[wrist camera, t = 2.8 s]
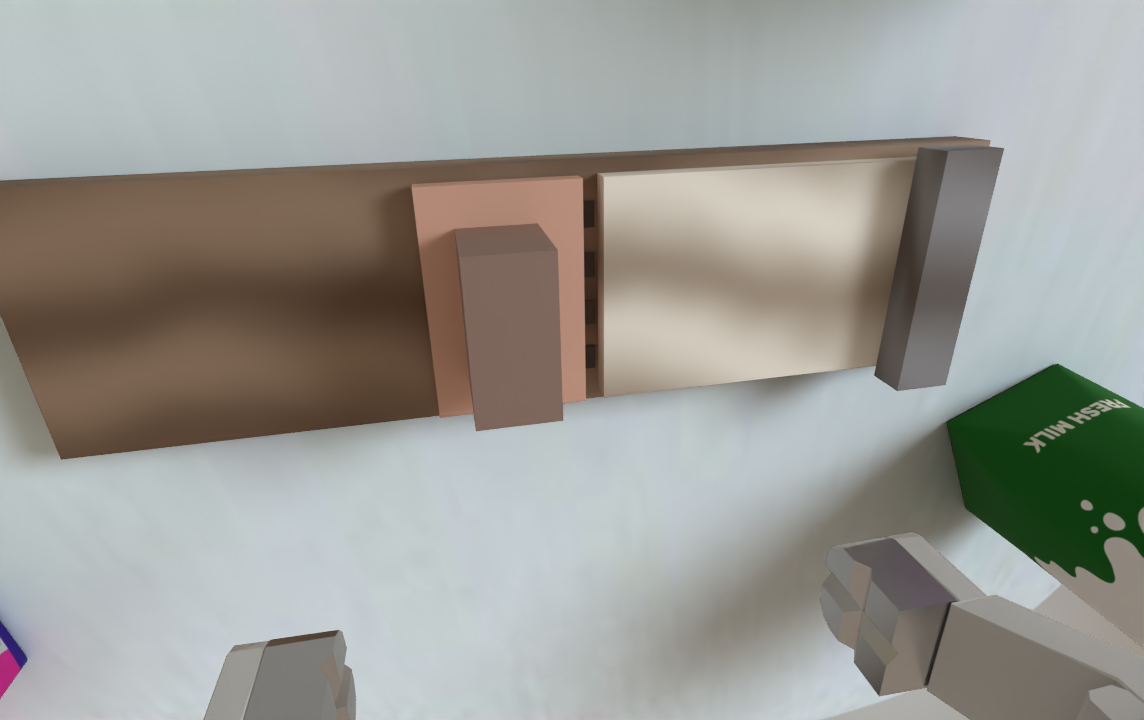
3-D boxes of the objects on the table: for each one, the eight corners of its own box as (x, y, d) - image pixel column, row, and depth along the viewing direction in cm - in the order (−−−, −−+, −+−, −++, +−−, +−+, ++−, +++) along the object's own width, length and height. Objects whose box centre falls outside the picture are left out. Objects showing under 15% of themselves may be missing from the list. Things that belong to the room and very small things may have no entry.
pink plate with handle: (412, 183, 22) (408, 209, 18) (578, 175, 23) (611, 197, 19) (439, 408, 26) (441, 473, 22) (581, 392, 27) (610, 451, 23)
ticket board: (-12, 181, 22) (-115, 205, 18) (955, 136, 28) (1044, 146, 24) (86, 432, 26) (21, 500, 22) (910, 342, 32) (980, 380, 28)
